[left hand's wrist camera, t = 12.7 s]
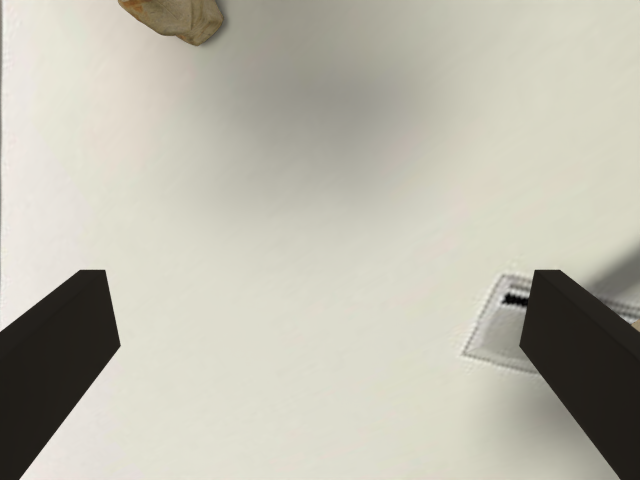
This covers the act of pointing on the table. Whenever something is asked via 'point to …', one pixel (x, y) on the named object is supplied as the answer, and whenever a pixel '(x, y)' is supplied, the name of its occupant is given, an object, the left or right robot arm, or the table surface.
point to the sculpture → (177, 17)
